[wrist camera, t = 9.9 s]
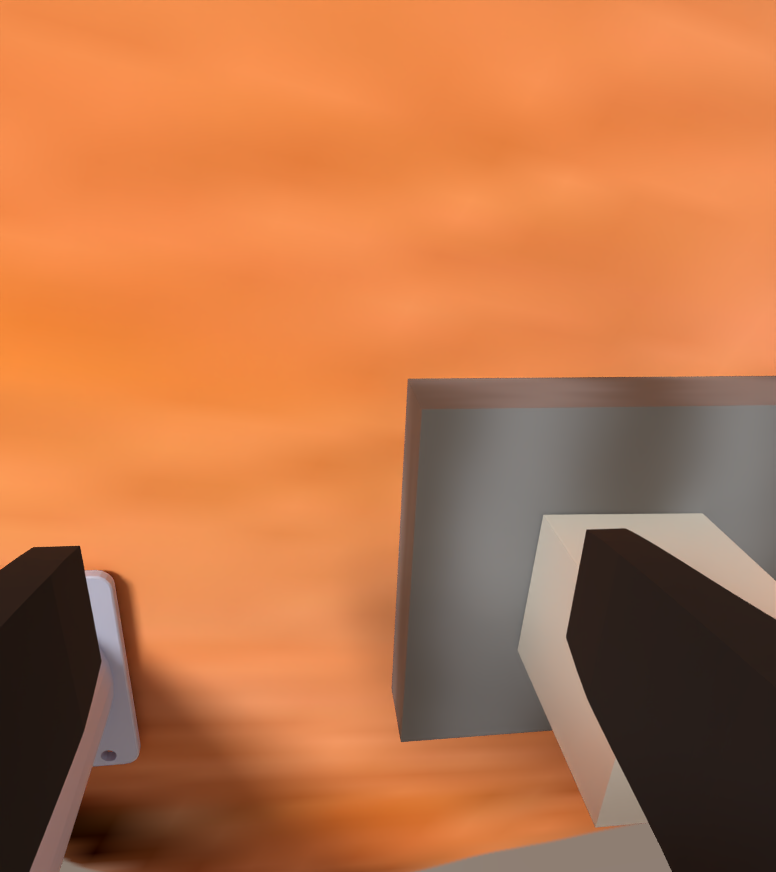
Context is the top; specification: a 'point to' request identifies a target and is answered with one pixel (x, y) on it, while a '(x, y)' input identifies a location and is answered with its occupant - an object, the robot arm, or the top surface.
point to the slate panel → (549, 495)
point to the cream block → (551, 653)
